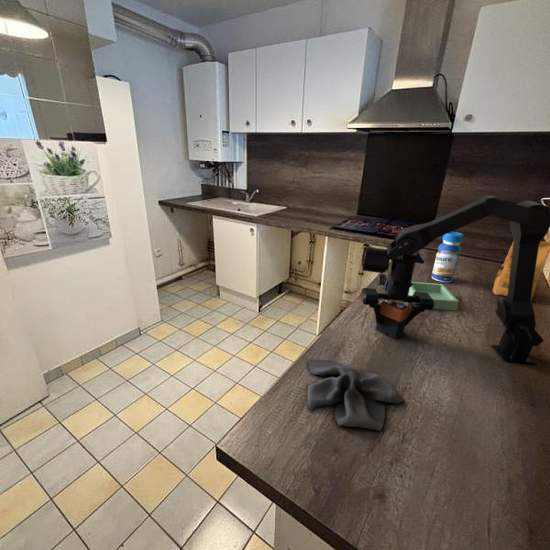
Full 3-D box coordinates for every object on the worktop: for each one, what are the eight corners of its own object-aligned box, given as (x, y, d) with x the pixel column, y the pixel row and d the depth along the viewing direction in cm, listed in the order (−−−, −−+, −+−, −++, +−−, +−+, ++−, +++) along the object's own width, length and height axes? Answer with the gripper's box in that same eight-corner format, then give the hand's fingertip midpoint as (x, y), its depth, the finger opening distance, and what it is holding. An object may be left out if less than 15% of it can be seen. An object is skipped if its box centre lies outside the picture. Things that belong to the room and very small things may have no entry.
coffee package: (493, 285, 118) (511, 233, 110) (532, 295, 110) (555, 239, 102) (489, 293, 111) (508, 238, 103) (530, 304, 104) (555, 245, 95)
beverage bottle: (457, 281, 121) (471, 235, 114) (443, 284, 118) (455, 236, 111) (440, 274, 129) (452, 230, 121) (426, 276, 126) (437, 231, 118)
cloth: (408, 388, 65) (413, 367, 63) (381, 451, 51) (387, 426, 49) (320, 350, 77) (322, 330, 75) (279, 392, 63) (280, 370, 61)
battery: (396, 339, 83) (403, 308, 79) (375, 329, 87) (380, 299, 83) (403, 333, 85) (410, 303, 81) (382, 324, 90) (387, 295, 86)
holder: (456, 310, 99) (458, 301, 97) (415, 307, 100) (418, 298, 99) (440, 292, 111) (442, 284, 110) (405, 289, 113) (406, 281, 112)
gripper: (426, 267, 85) (415, 313, 91) (361, 262, 88) (355, 308, 94) (441, 282, 75) (427, 333, 81) (367, 277, 77) (359, 326, 84)
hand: (390, 324), depth 85 cm, fingers closed on battery, 7 cm apart
